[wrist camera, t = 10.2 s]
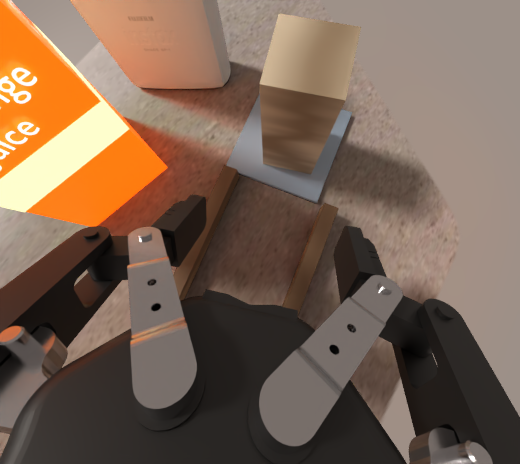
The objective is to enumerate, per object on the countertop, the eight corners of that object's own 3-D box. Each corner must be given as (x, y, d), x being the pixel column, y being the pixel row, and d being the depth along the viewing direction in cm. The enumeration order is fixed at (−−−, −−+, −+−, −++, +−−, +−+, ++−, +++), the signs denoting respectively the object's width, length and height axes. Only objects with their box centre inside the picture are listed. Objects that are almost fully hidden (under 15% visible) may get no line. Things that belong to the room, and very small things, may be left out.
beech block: (263, 163, 20) (259, 84, 11) (274, 120, 21) (279, 13, 12) (311, 174, 20) (345, 100, 11) (321, 130, 21) (361, 27, 12)
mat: (226, 169, 21) (225, 167, 20) (264, 86, 22) (264, 82, 22) (316, 203, 20) (316, 202, 20) (350, 115, 21) (352, 112, 21)
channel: (146, 349, 19) (134, 357, 17) (227, 172, 21) (224, 164, 19) (260, 405, 18) (259, 419, 16) (332, 212, 20) (338, 208, 18)
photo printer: (130, 92, 23) (-32, -114, 10) (135, 56, 23) (-11, -177, 11) (229, 94, 22) (183, -120, 10) (232, 57, 23) (192, -186, 11)
